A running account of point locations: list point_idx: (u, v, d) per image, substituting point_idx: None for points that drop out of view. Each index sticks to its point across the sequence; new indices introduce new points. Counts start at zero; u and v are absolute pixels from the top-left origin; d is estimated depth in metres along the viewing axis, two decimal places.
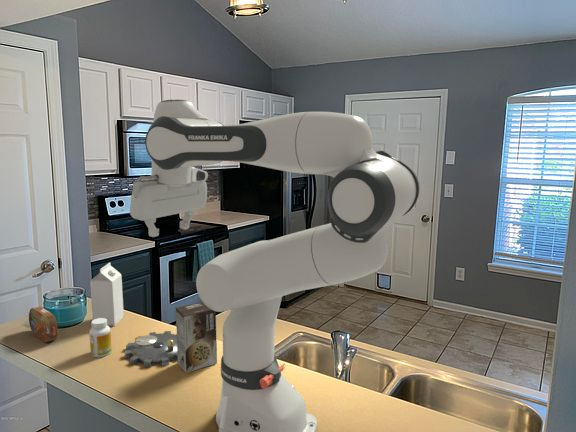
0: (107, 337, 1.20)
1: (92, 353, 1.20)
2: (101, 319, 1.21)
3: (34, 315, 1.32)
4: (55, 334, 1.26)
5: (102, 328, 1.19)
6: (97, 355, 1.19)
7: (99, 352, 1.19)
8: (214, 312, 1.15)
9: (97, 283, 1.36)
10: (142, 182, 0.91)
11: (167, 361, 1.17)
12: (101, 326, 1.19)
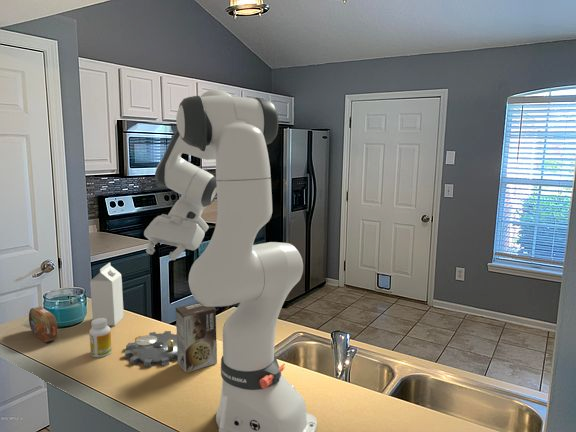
0: (107, 337, 1.20)
1: (92, 353, 1.20)
2: (101, 319, 1.21)
3: (34, 315, 1.32)
4: (55, 334, 1.26)
5: (102, 328, 1.19)
6: (97, 355, 1.19)
7: (99, 352, 1.19)
8: (214, 312, 1.15)
9: (97, 283, 1.36)
10: (161, 216, 1.37)
11: (167, 361, 1.17)
12: (101, 326, 1.19)
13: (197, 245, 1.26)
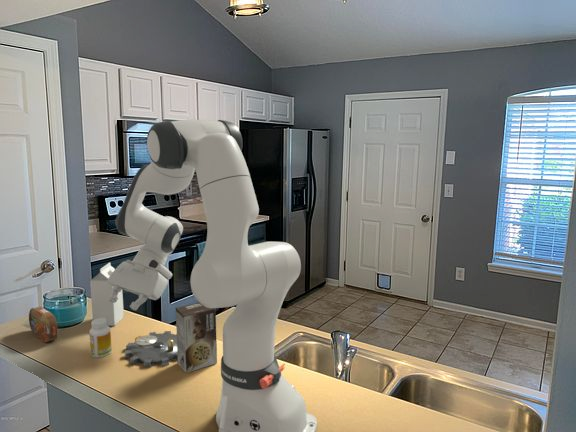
0: (107, 337, 1.20)
1: (92, 353, 1.20)
2: (101, 319, 1.21)
3: (34, 315, 1.32)
4: (55, 334, 1.26)
5: (102, 328, 1.19)
6: (97, 355, 1.19)
7: (99, 352, 1.19)
8: (214, 312, 1.15)
9: (97, 283, 1.36)
10: (126, 262, 1.36)
11: (167, 361, 1.17)
12: (101, 326, 1.19)
13: (159, 295, 1.25)
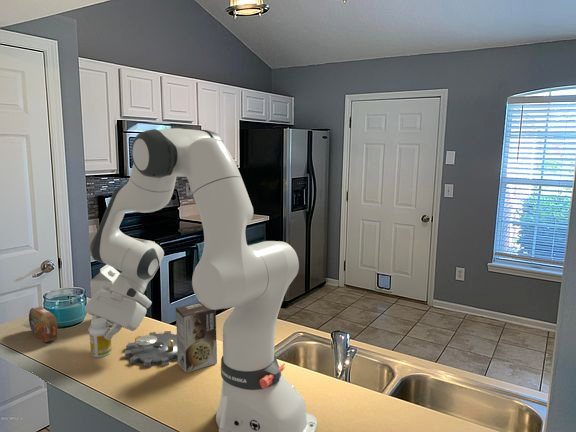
0: None
1: (92, 353, 1.20)
2: (101, 319, 1.21)
3: (34, 315, 1.32)
4: (55, 334, 1.26)
5: (102, 328, 1.19)
6: (97, 355, 1.19)
7: (99, 352, 1.19)
8: (214, 312, 1.15)
9: (97, 283, 1.36)
10: (104, 289, 1.30)
11: (167, 361, 1.17)
12: (101, 326, 1.19)
13: (137, 325, 1.19)
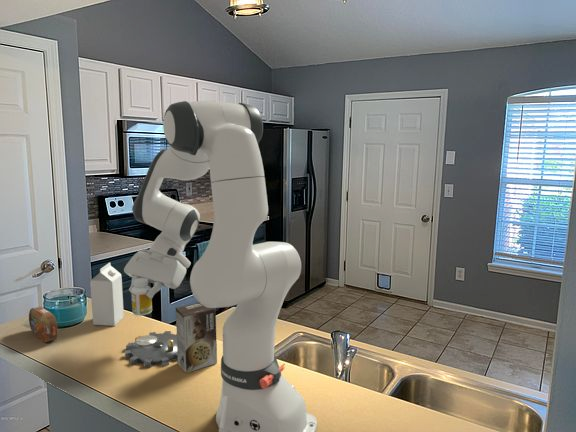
0: None
1: (134, 311, 1.22)
2: (143, 279, 1.23)
3: (34, 315, 1.32)
4: (55, 334, 1.26)
5: (144, 287, 1.22)
6: (139, 313, 1.22)
7: (141, 310, 1.21)
8: (214, 312, 1.15)
9: (97, 283, 1.36)
10: None
11: (167, 361, 1.17)
12: (143, 285, 1.21)
13: (178, 283, 1.21)
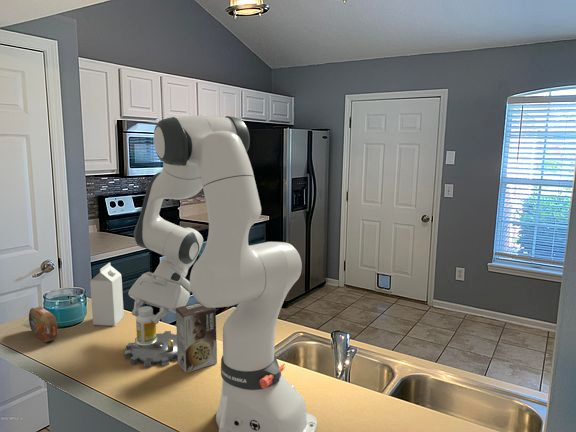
0: (153, 324, 1.24)
1: (138, 340, 1.24)
2: (147, 307, 1.25)
3: (34, 315, 1.32)
4: (55, 334, 1.26)
5: (149, 316, 1.24)
6: (143, 342, 1.24)
7: (145, 339, 1.24)
8: (214, 312, 1.15)
9: (97, 283, 1.36)
10: None
11: (167, 361, 1.17)
12: (148, 314, 1.23)
13: None
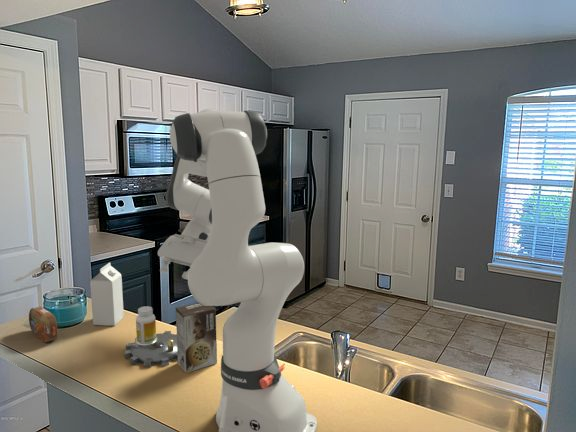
0: (152, 324, 1.24)
1: (138, 340, 1.24)
2: (147, 307, 1.25)
3: (34, 315, 1.32)
4: (55, 334, 1.26)
5: (148, 316, 1.24)
6: (143, 342, 1.24)
7: (145, 339, 1.24)
8: (214, 312, 1.15)
9: (97, 283, 1.36)
10: (174, 236, 1.43)
11: (167, 361, 1.17)
12: (147, 314, 1.23)
13: None
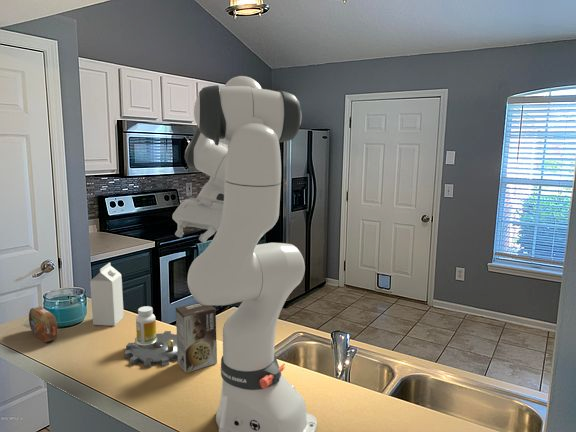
0: (152, 324, 1.24)
1: (138, 340, 1.24)
2: (147, 307, 1.26)
3: (34, 315, 1.32)
4: (55, 334, 1.26)
5: (148, 316, 1.24)
6: (143, 342, 1.24)
7: (145, 339, 1.24)
8: (214, 312, 1.15)
9: (97, 283, 1.36)
10: (189, 200, 1.35)
11: (167, 361, 1.17)
12: (148, 314, 1.23)
13: None
